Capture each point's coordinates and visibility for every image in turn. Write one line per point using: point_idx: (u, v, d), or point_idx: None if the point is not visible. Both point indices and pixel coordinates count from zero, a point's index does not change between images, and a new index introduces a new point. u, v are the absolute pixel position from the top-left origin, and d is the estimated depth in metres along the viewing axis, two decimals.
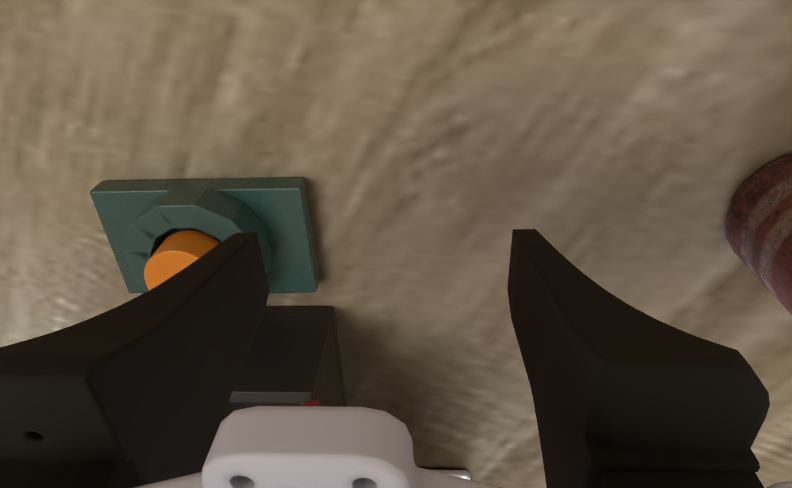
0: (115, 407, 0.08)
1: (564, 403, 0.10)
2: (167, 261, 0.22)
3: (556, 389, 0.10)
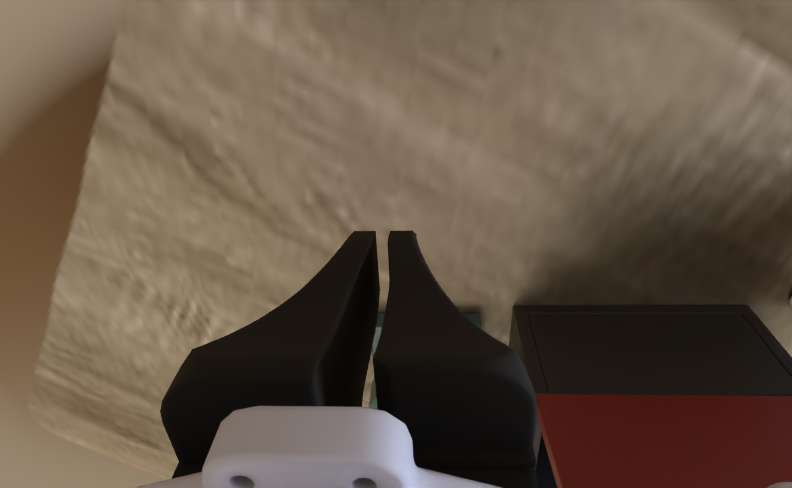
0: None
1: None
2: None
3: None
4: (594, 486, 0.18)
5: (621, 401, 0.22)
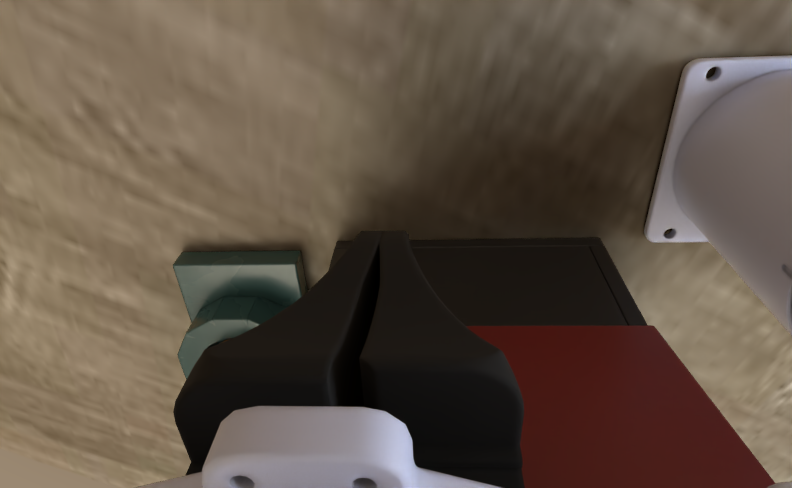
0: None
1: None
2: None
3: None
4: None
5: None
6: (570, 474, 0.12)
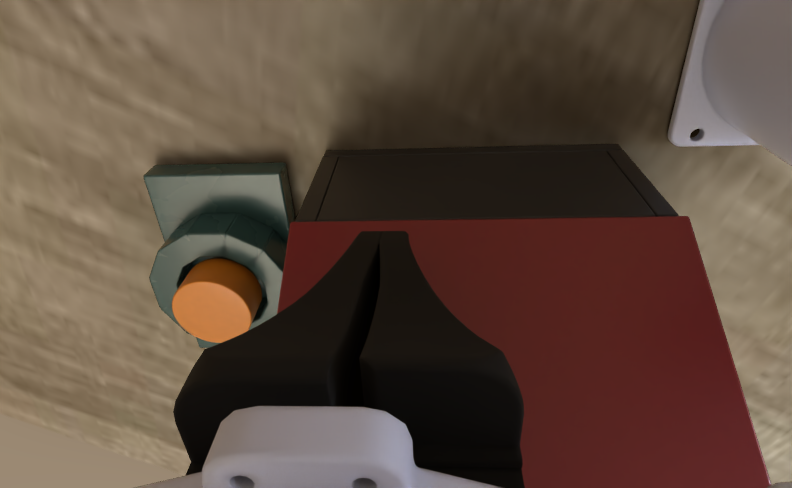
0: None
1: None
2: (187, 320, 0.22)
3: None
4: None
5: None
6: (566, 452, 0.13)
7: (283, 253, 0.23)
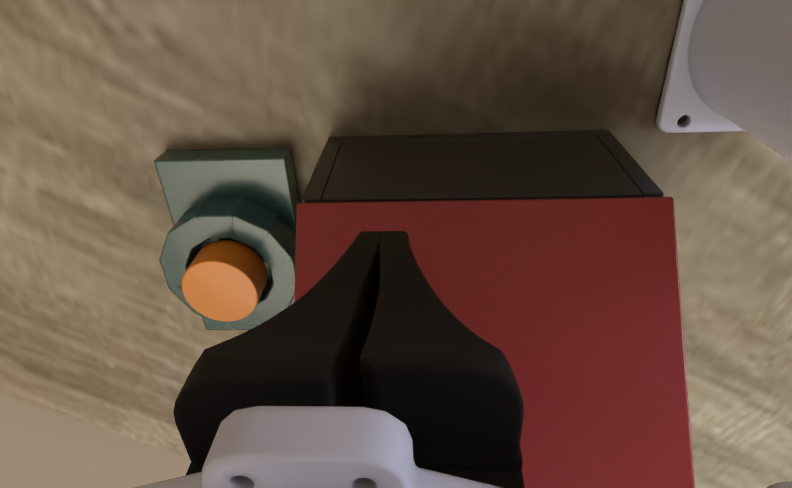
0: None
1: None
2: (195, 299, 0.23)
3: None
4: None
5: (401, 215, 0.17)
6: (536, 414, 0.16)
7: (288, 236, 0.24)
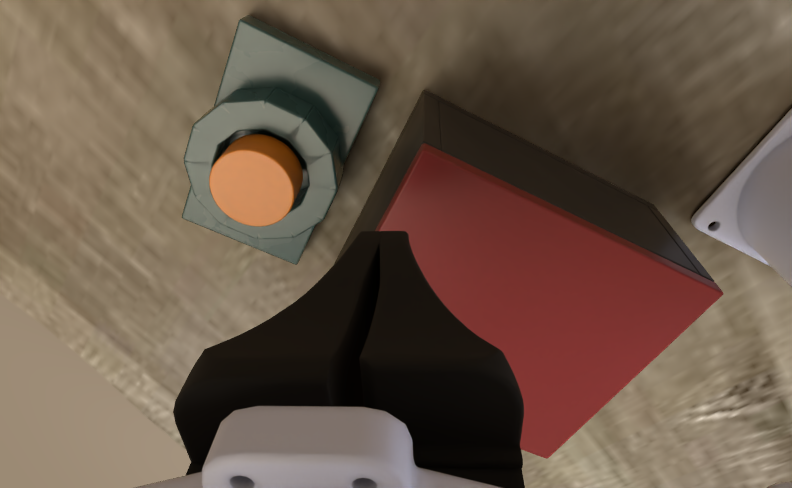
0: None
1: None
2: (220, 185, 0.21)
3: None
4: None
5: (510, 206, 0.17)
6: (513, 368, 0.22)
7: (338, 165, 0.22)
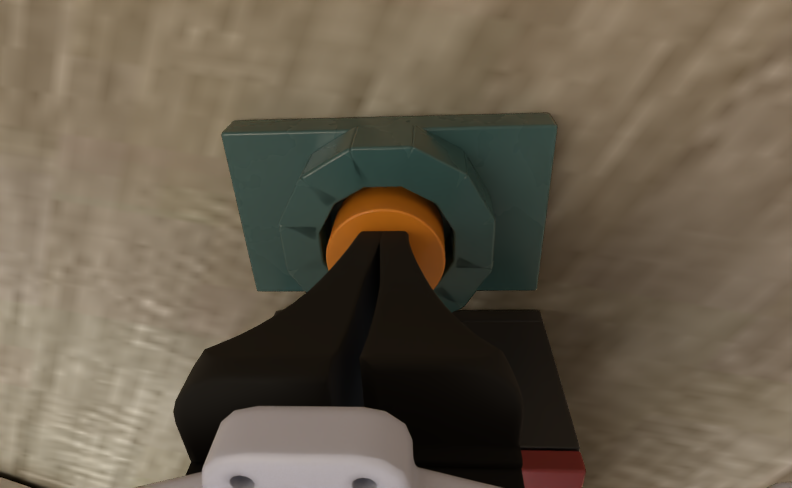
0: None
1: None
2: (370, 226, 0.14)
3: None
4: None
5: None
6: None
7: None
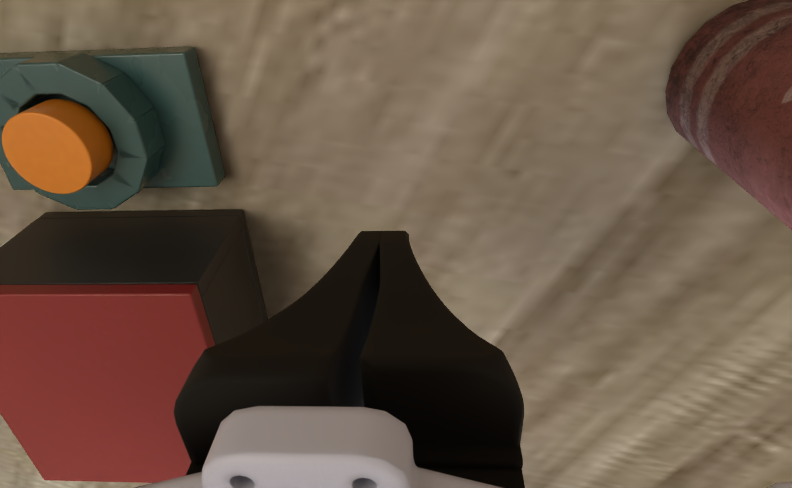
0: None
1: None
2: (25, 126, 0.20)
3: None
4: (77, 315, 0.21)
5: None
6: (91, 423, 0.25)
7: None
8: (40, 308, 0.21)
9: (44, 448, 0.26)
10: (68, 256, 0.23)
